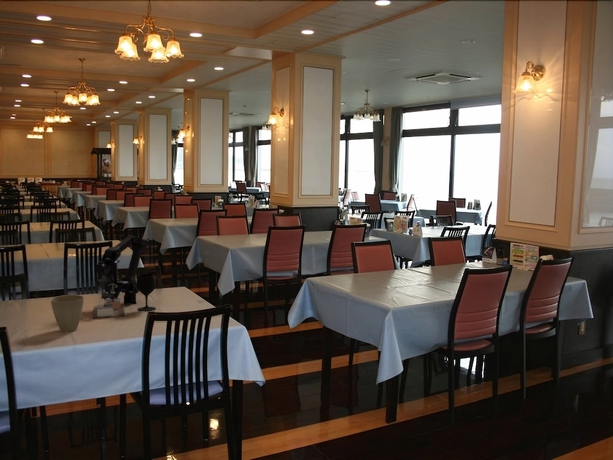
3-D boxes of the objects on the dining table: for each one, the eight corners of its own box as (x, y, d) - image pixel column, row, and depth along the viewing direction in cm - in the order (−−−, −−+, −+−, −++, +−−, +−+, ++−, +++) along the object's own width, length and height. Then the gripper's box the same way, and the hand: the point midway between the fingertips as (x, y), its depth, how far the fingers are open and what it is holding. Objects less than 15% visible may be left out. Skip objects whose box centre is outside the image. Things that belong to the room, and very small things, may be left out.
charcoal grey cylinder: (116, 305, 319) (115, 292, 318) (116, 307, 316) (115, 293, 315) (109, 306, 318) (109, 292, 317) (109, 307, 315) (109, 294, 314)
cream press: (113, 311, 308) (112, 304, 307) (113, 315, 300) (113, 307, 300) (97, 312, 305) (97, 305, 305) (97, 316, 298) (97, 308, 297)
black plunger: (108, 305, 304) (108, 291, 304) (108, 307, 301) (108, 293, 300) (101, 306, 303) (101, 292, 302) (101, 307, 300) (101, 293, 299)
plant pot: (51, 327, 277) (50, 296, 276) (84, 324, 283) (83, 293, 282) (51, 335, 264) (50, 302, 262) (85, 332, 270) (84, 300, 268)
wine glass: (133, 310, 314) (132, 275, 312) (146, 306, 324) (145, 272, 322) (146, 312, 310) (146, 277, 308) (160, 308, 319) (159, 274, 317)
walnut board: (123, 305, 325) (123, 304, 325) (125, 316, 300) (125, 315, 300) (94, 307, 319) (94, 306, 319) (93, 318, 295) (93, 317, 295)
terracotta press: (120, 305, 322) (120, 298, 322) (120, 308, 315) (120, 301, 314) (105, 306, 319) (105, 299, 319) (105, 309, 312) (105, 302, 312)
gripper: (88, 272, 311) (89, 299, 312) (116, 274, 304) (116, 302, 306) (102, 269, 321) (103, 295, 323) (129, 271, 315) (129, 298, 316)
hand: (112, 298), depth 317 cm, fingers open, 5 cm apart
